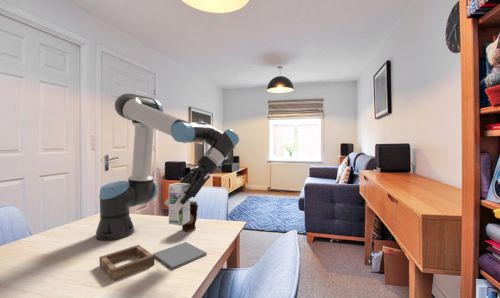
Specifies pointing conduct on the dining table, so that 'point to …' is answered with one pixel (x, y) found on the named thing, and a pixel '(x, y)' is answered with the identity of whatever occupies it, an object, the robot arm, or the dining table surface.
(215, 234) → the dining table surface
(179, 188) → the syrup box
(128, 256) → the walnut holder
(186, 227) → the coffee cup
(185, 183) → the robot arm
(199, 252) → the rubber mat
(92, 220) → the dining table surface
